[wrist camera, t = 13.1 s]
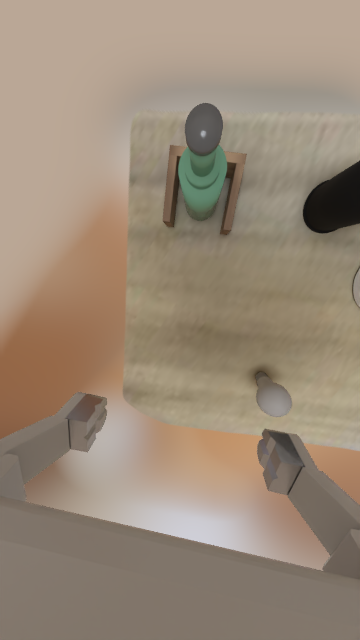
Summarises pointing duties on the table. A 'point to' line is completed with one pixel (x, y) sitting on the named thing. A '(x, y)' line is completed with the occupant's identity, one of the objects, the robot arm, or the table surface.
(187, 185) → the bottle
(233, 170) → the u rest
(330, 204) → the aerosol can
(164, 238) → the table surface
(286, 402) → the lightbulb
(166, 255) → the table surface
